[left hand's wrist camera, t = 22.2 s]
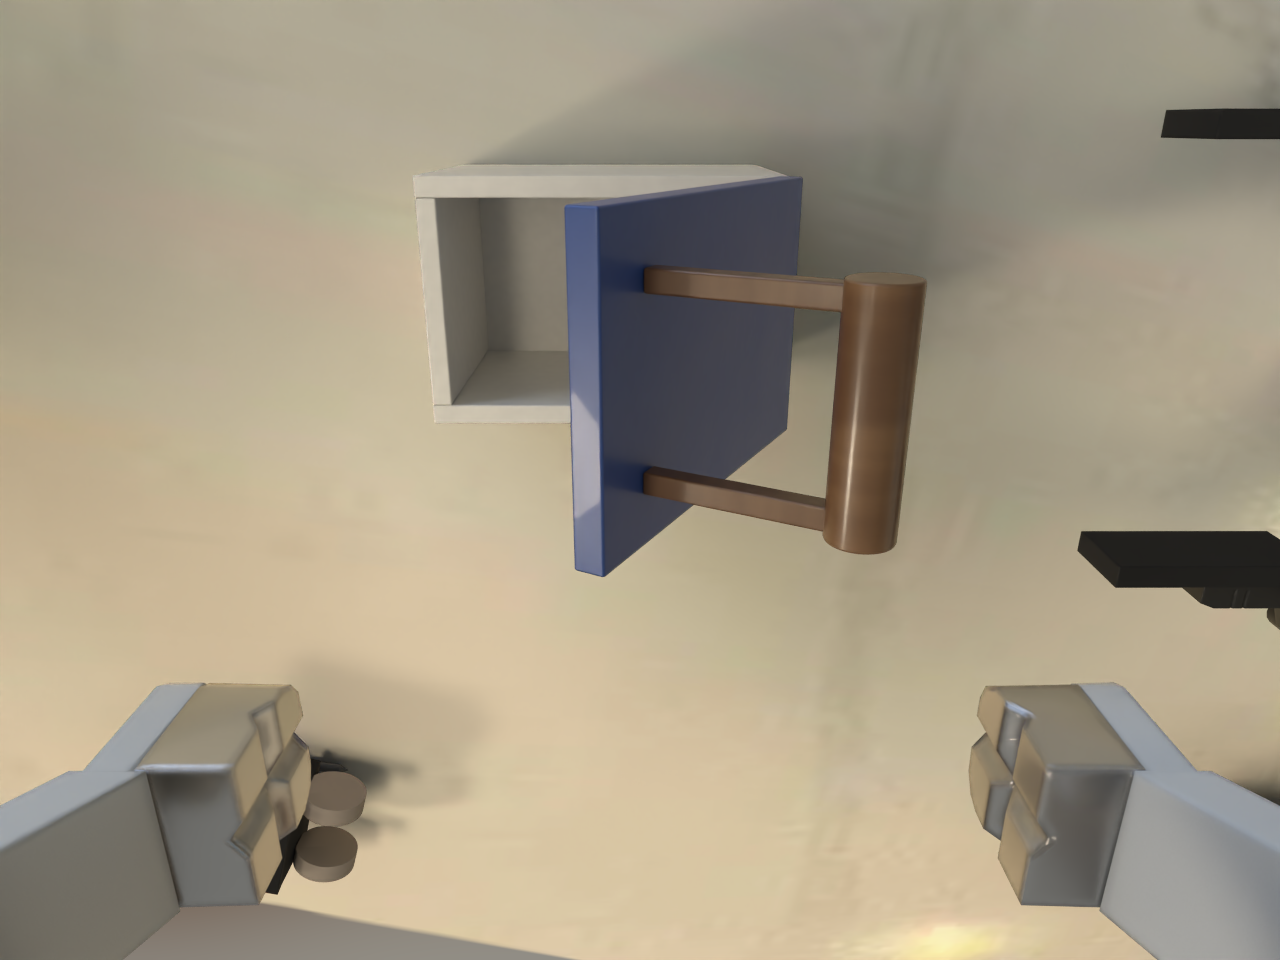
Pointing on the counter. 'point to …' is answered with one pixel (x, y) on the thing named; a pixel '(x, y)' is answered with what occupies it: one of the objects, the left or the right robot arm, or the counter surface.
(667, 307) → the lid
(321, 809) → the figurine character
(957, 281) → the counter surface
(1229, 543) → the right robot arm
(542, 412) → the chest
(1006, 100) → the counter surface
